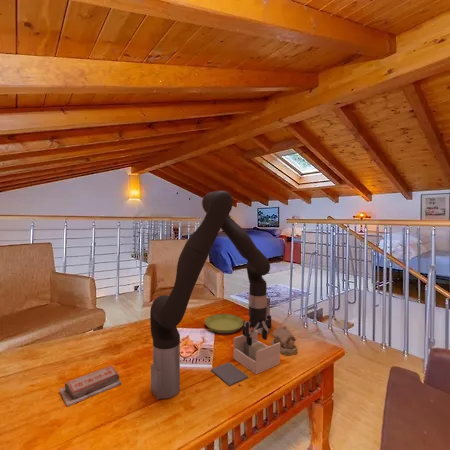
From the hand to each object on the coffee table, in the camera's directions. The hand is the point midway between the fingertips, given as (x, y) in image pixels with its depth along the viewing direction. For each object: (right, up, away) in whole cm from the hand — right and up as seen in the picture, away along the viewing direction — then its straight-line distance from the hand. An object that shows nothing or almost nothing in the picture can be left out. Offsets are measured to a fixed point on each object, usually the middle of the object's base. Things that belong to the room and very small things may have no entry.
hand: (257, 342), depth 121 cm
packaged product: (-61, -9, -19) cm, 64 cm away
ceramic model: (+14, -8, +13) cm, 21 cm away
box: (0, -8, 0) cm, 8 cm away
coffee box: (+6, -6, +30) cm, 31 cm away
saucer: (-14, -6, +34) cm, 37 cm away
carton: (0, -8, 0) cm, 8 cm away
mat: (-12, -9, -9) cm, 17 cm away
